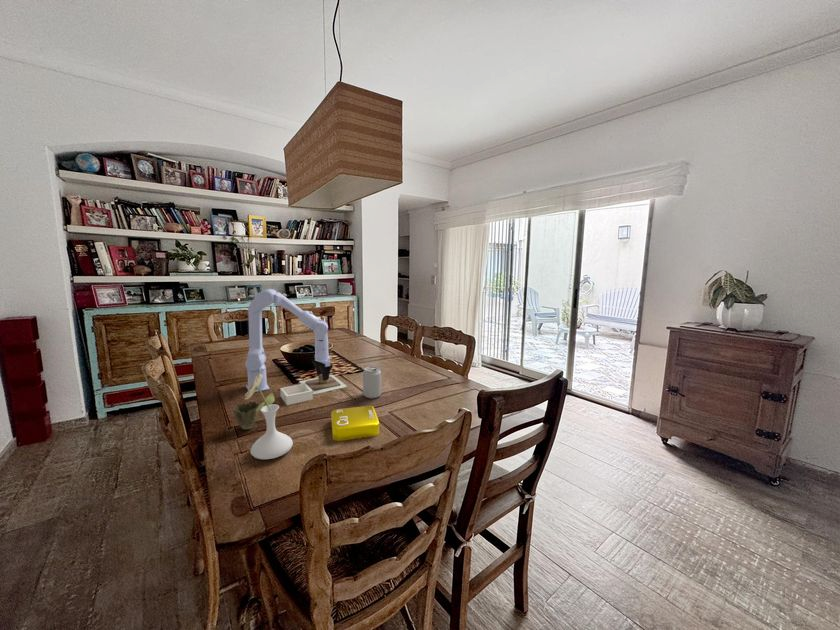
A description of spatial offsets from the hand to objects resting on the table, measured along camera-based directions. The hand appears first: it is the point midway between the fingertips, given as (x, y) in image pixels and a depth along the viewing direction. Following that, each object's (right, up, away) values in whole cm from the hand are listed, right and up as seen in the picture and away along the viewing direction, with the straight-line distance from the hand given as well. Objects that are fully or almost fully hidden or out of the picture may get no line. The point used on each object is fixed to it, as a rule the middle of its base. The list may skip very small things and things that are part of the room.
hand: (322, 377), depth 147 cm
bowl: (-6, -6, -15) cm, 17 cm away
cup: (-14, -10, -38) cm, 42 cm away
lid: (0, -3, 0) cm, 3 cm away
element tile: (+22, -11, -36) cm, 43 cm away
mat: (0, -3, +1) cm, 4 cm away
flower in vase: (0, -12, -52) cm, 53 cm away
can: (+24, -6, -10) cm, 27 cm away
